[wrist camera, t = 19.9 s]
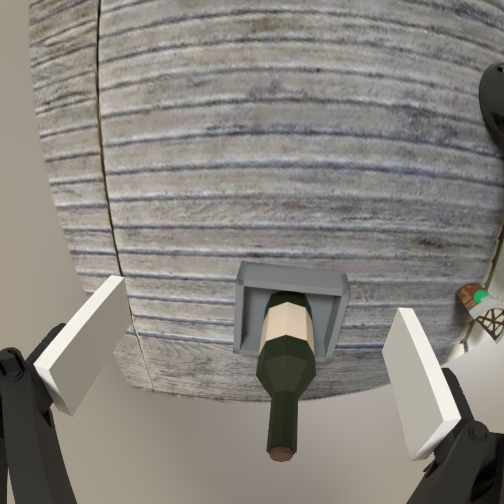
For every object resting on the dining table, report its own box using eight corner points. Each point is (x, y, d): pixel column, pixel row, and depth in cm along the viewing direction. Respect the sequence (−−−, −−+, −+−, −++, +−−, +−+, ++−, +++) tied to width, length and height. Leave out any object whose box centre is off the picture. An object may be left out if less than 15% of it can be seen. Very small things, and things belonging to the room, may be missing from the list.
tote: (345, 272, 53) (350, 290, 48) (327, 342, 60) (330, 362, 55) (241, 261, 55) (236, 278, 49) (238, 333, 61) (233, 353, 56)
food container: (496, 296, 52) (518, 323, 43) (478, 316, 54) (497, 345, 45) (472, 266, 50) (496, 293, 41) (451, 288, 52) (473, 318, 43)
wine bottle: (320, 307, 56) (333, 456, 29) (288, 333, 59) (281, 476, 32) (287, 280, 54) (280, 431, 27) (255, 308, 57) (228, 454, 30)
